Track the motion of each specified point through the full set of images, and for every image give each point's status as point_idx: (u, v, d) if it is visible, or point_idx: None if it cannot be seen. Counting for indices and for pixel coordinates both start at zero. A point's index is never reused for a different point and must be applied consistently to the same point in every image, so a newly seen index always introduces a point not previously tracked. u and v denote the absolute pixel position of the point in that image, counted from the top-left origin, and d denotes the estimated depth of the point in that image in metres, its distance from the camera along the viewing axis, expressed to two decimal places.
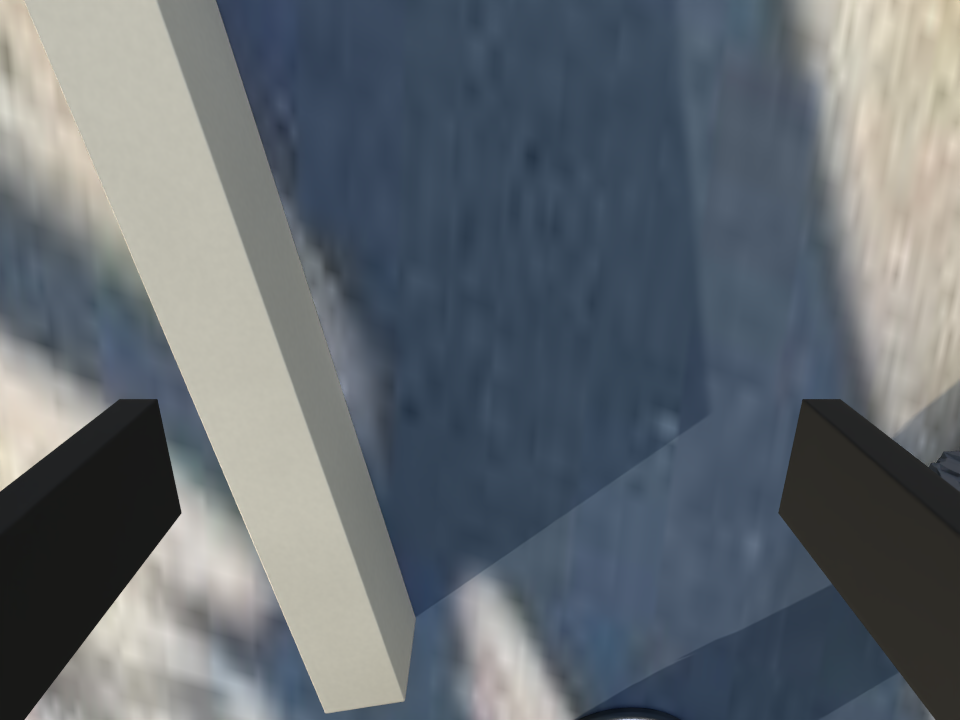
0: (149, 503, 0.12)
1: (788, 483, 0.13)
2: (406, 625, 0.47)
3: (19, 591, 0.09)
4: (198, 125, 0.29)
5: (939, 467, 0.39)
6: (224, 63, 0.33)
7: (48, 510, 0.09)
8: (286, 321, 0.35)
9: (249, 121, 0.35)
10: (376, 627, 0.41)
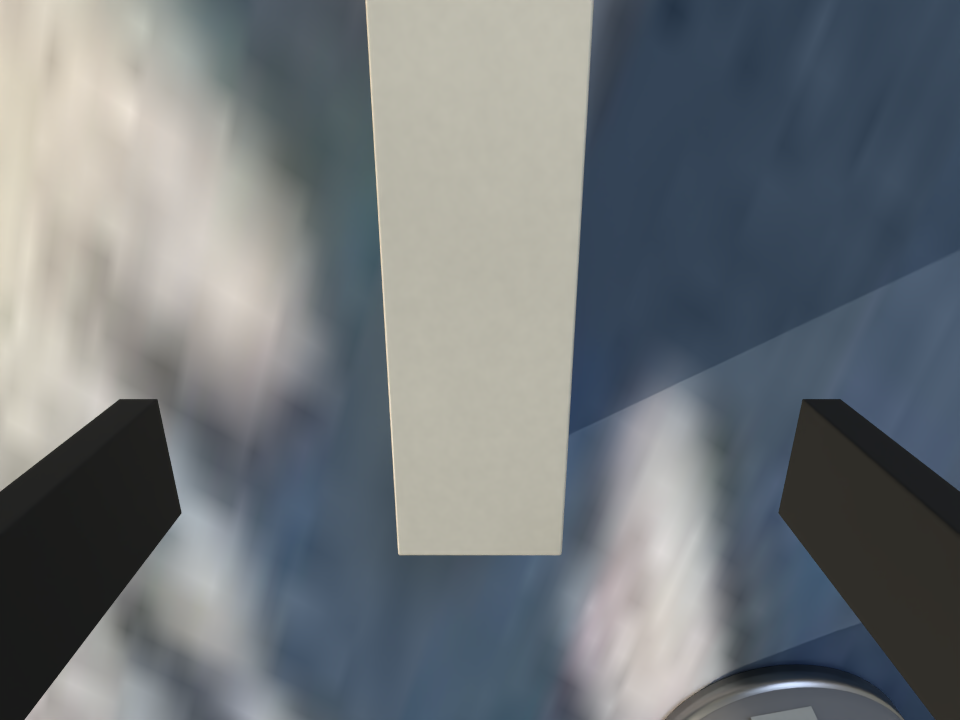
0: (149, 503, 0.12)
1: (788, 483, 0.13)
2: None
3: (19, 591, 0.09)
4: None
5: None
6: None
7: (48, 510, 0.09)
8: None
9: None
10: (568, 376, 0.19)
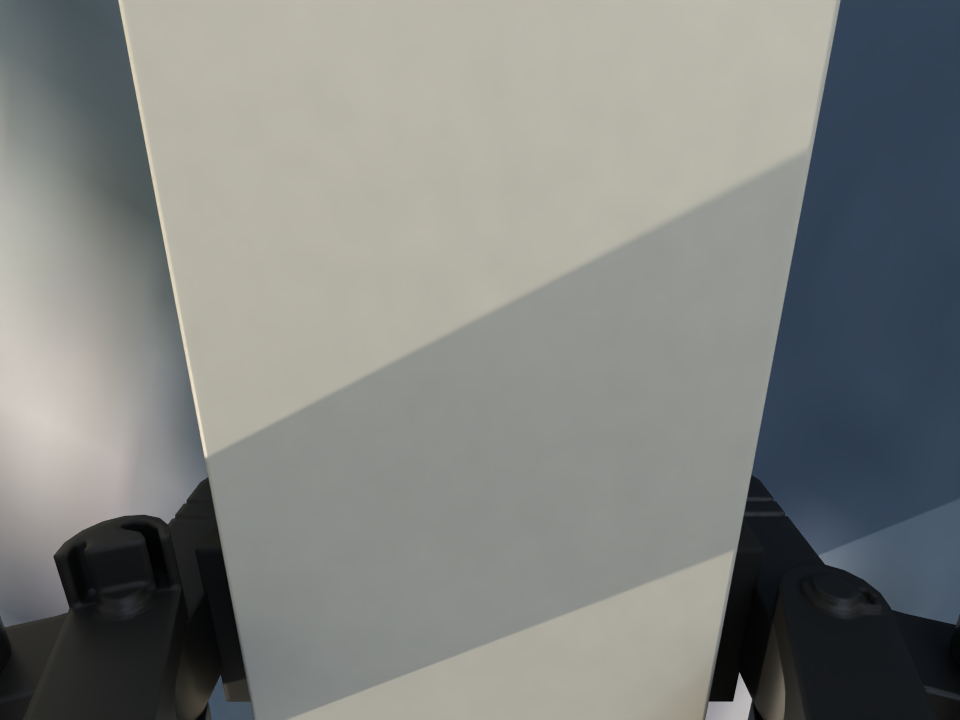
0: None
1: None
2: None
3: None
4: None
5: None
6: None
7: None
8: None
9: None
10: None
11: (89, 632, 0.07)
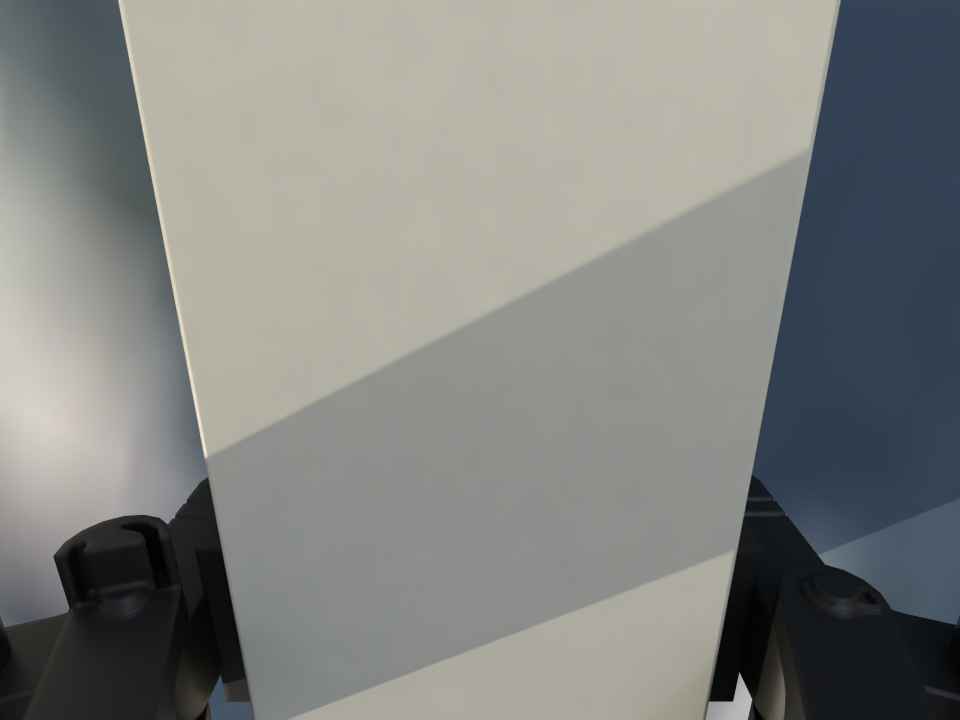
0: None
1: None
2: None
3: None
4: None
5: None
6: None
7: None
8: None
9: None
10: None
11: (89, 632, 0.07)
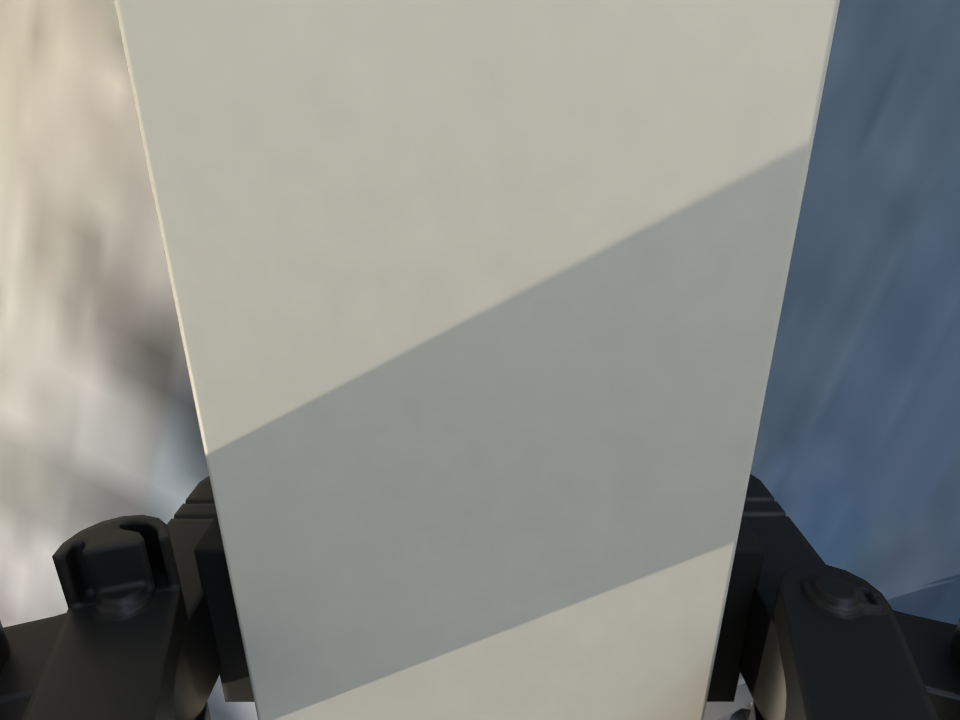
0: None
1: None
2: None
3: None
4: None
5: None
6: None
7: None
8: None
9: None
10: None
11: (88, 632, 0.07)
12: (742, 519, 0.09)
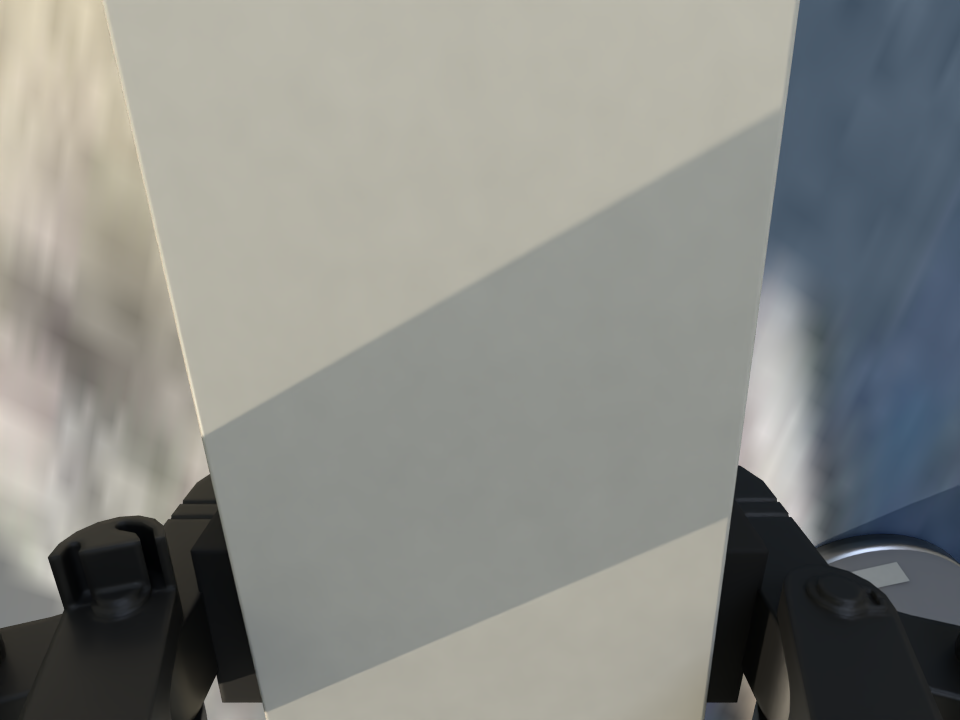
0: None
1: None
2: None
3: None
4: None
5: None
6: None
7: None
8: None
9: None
10: (697, 710, 0.08)
11: (84, 633, 0.07)
12: (745, 519, 0.08)
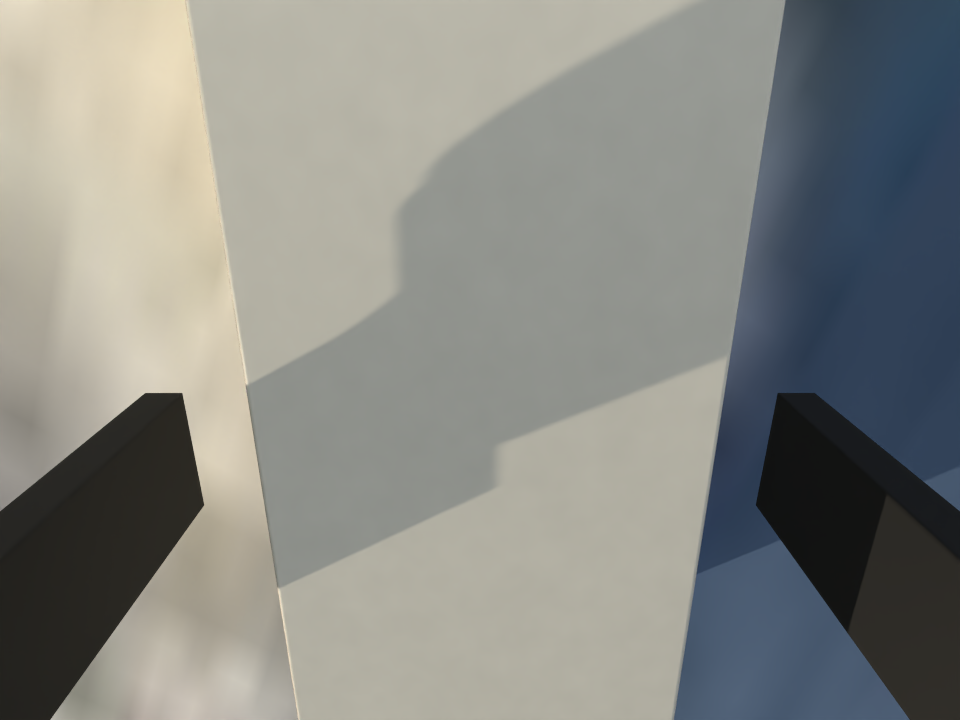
0: (175, 494, 0.12)
1: (765, 475, 0.13)
2: None
3: (59, 576, 0.09)
4: None
5: None
6: None
7: (84, 499, 0.09)
8: None
9: None
10: (675, 667, 0.09)
11: None
12: None
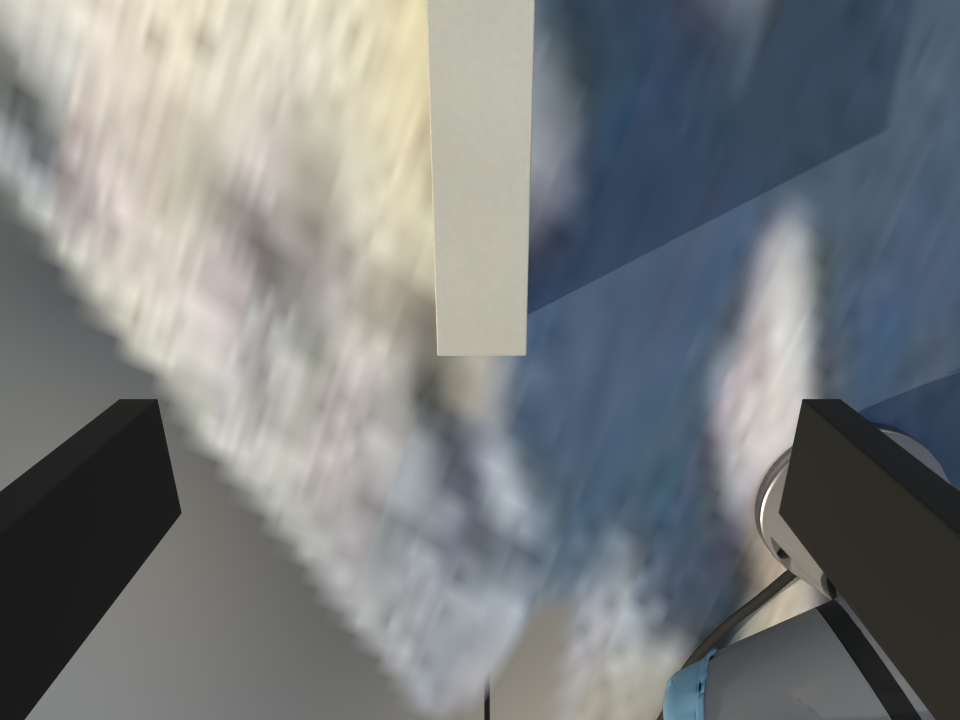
0: (149, 503, 0.12)
1: (788, 483, 0.13)
2: None
3: (19, 591, 0.09)
4: None
5: None
6: None
7: (48, 510, 0.09)
8: None
9: None
10: (526, 250, 0.38)
11: None
12: None
